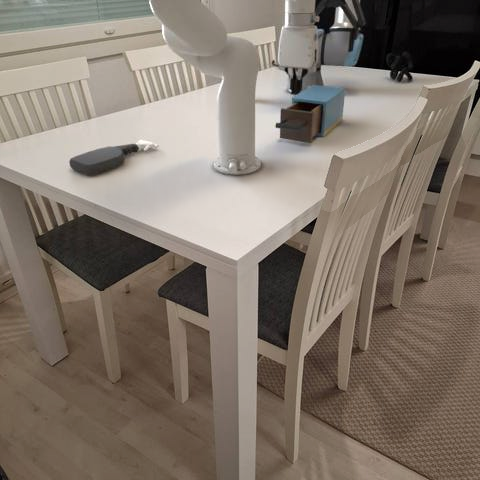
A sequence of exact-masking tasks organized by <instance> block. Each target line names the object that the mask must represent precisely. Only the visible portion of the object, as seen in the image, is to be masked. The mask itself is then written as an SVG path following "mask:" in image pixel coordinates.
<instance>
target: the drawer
mask: <svg viewBox="0 0 480 480" xmlns="http://www.w3.org/2000/svg"><path fill="white" fill-rule="evenodd" d="M279 115H280V118H279V119H280V120H279V122H276V123H275V124H274V125H275V128H276V129H279V139H282V140H283V139H284V140H290V141H295V142H296V141H297V142H302V143H309V144H311V143H312V142H313V138H314V137H316V134H318V133H319V132H320V131H321V127H322V115H323V104H314V103H306V102H298V101H297V102H296V103H294V104H292V103H291V105H289V106H288V107H286V108H284V107H282V108H280V114H279Z"/></svg>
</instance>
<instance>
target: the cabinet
mask: <svg viewBox="0 0 480 480" xmlns="http://www.w3.org/2000/svg"><path fill="white" fill-rule="evenodd" d="M345 96H346V87H337V86H328V85H324V86H318V85H313V86H311V87H309V88H308V89H306V90H304V91H303V92H301V93H299V94H298V95H296V94H295V95H294V96H293V97H291V105H292V104H294V103H296V102H297V101H298V102H306V103H314V104H323V115H322V127H321V131H320V132H319V133H318V134H316V135H315V137H316V136H317V137H325V136H326V135H327V134H328V133H330V132H331V131H332V130H334V128H335V127H336V126H337V125H339V124H340V123H341V122H342V121H343V115H344V105H345V98H346V97H345Z"/></svg>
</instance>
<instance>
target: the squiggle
mask: <svg viewBox="0 0 480 480" xmlns="http://www.w3.org/2000/svg"><path fill="white" fill-rule="evenodd" d="M401 57H402V59H401ZM391 59H392V60H391ZM393 60H394V61H393ZM385 61H386V64H387V67H390V68H391V70H390V72H389V78H390V79H391V80H395V79H396V81H397V82H399V83H400V82H402V81H403V79H404V76H406V78H407V80H408V81H412V80H413V79H414V77H413V75H412V74H411V73H410V72H409V71H410V70H412V69H413V68H414V64H413V61H412V57H411V54H410V53H409V52H408V51H403V53H402V54H401V55H396V54H394V53H392V52H390V53H387V55H386V57H385ZM406 62H407V65H408V66H407V67H405V66H404V65H405V64H406ZM400 70H401V71H400Z"/></svg>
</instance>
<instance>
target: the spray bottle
mask: <svg viewBox="0 0 480 480" xmlns="http://www.w3.org/2000/svg"><path fill="white" fill-rule="evenodd" d="M159 148H160V145H159V144H158V143H155V142H151V141H148V140H144V139H139V140H138V141H137V142H135V143H129V144H128V143H126V144H122V145H113V146H105V147H100V148H97V149H94V150H90V151H87V152H83V153H81V154H78V155H74V156H73V157H70V159H69V161H68V162H69V167H70V168H71V169H72V170H74V171H75V172H78V173H81V174H83V175H85V176H89V177H90V176H91V177H92V176H95V175H99V174H102V173H105V172H107V171H110V170H113V169H116V168H118V167H120V166H122V165H123V164H124V163H125V158H126V156H127V155H131V154H133V153H138V151H140V150H143V151H144V152H146V151H147V150H149V149H159Z"/></svg>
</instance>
